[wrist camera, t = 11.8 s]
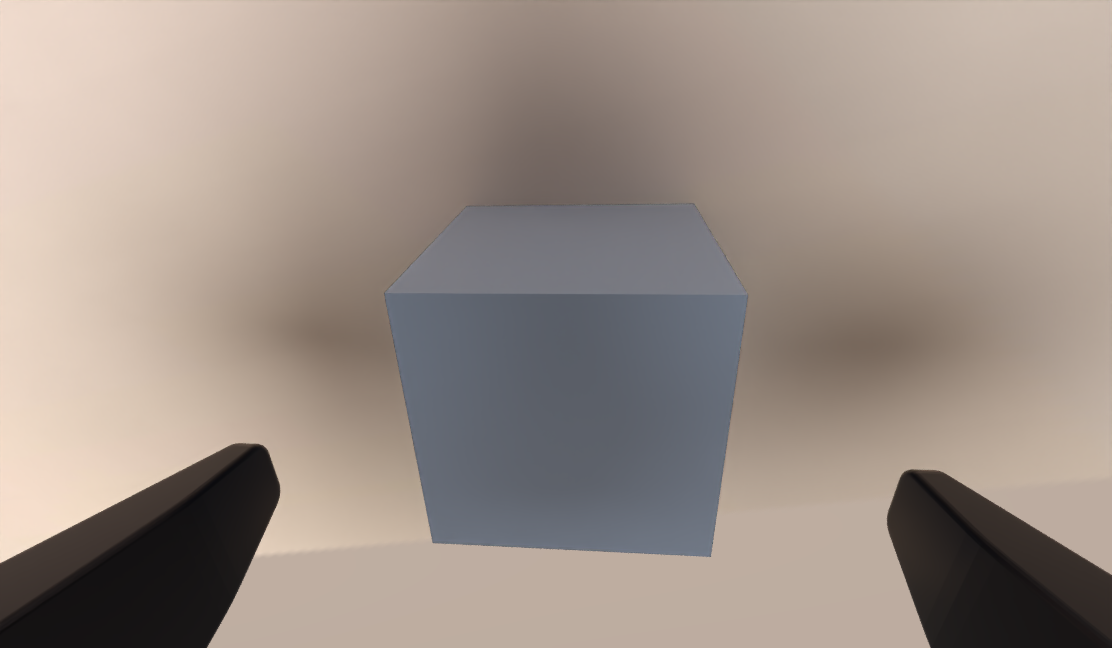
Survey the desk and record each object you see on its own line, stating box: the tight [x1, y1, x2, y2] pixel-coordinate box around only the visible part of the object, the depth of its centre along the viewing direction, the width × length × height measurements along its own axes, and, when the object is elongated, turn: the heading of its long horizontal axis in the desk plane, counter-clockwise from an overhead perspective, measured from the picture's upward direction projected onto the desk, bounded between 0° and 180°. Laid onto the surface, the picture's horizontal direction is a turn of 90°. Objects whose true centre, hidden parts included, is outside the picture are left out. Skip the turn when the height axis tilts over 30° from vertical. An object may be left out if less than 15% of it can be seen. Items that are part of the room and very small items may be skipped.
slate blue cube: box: [384, 204, 748, 557], centre depth 11 cm, size 5×5×5 cm
